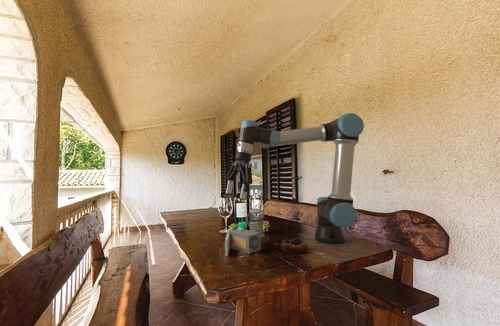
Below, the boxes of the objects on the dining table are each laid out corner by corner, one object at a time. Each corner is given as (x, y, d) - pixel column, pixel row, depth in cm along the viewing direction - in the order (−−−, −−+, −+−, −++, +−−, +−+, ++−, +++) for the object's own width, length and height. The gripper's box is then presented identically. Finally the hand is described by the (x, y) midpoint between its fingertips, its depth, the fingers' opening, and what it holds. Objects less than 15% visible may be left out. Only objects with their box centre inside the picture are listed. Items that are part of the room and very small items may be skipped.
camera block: (263, 250, 114) (262, 231, 114) (250, 254, 108) (250, 235, 109) (240, 244, 125) (240, 227, 125) (228, 247, 119) (228, 229, 119)
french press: (259, 237, 137) (259, 193, 138) (242, 235, 143) (241, 192, 144) (267, 233, 145) (266, 192, 146) (250, 231, 151) (250, 191, 152)
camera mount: (256, 243, 127) (255, 223, 128) (241, 244, 125) (241, 224, 126) (250, 237, 139) (249, 219, 139) (237, 238, 137) (236, 220, 137)
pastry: (279, 248, 118) (278, 235, 119) (302, 246, 120) (302, 234, 120) (284, 255, 107) (284, 242, 108) (310, 254, 109) (310, 240, 109)
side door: (227, 255, 106) (227, 239, 106) (223, 255, 106) (223, 239, 106) (230, 247, 119) (230, 232, 119) (226, 247, 119) (226, 232, 119)
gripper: (225, 150, 125) (216, 190, 124) (252, 151, 104) (242, 200, 103) (237, 153, 129) (229, 192, 128) (265, 154, 108) (256, 201, 107)
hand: (235, 196), depth 115 cm, fingers open, 13 cm apart
